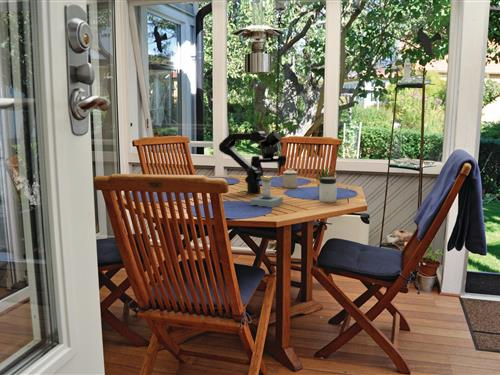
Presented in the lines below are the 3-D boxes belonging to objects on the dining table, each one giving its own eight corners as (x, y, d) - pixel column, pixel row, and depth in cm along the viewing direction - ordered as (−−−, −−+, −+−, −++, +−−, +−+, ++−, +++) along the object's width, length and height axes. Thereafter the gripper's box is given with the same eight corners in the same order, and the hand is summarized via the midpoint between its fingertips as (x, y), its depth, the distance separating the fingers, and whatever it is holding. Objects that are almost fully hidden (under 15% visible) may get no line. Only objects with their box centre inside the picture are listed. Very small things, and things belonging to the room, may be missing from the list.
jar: (317, 201, 244) (317, 178, 242) (320, 198, 252) (321, 176, 250) (334, 202, 241) (335, 179, 239) (337, 200, 249) (338, 177, 247)
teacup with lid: (296, 185, 296) (296, 167, 294) (298, 188, 287) (298, 168, 285) (277, 186, 295) (277, 167, 293) (278, 188, 286) (278, 169, 284)
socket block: (250, 205, 237) (250, 199, 236) (261, 201, 247) (261, 195, 247) (272, 207, 231) (272, 201, 231) (282, 203, 241) (282, 197, 241)
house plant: (326, 199, 250) (327, 168, 248) (305, 196, 260) (305, 166, 257) (341, 195, 261) (341, 165, 258) (320, 192, 270) (320, 164, 267)
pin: (258, 203, 240) (258, 176, 238) (267, 202, 243) (267, 175, 241) (265, 205, 236) (265, 177, 233) (274, 204, 239) (274, 176, 236)
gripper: (251, 141, 253) (255, 164, 244) (285, 140, 256) (291, 163, 248) (249, 154, 262) (253, 177, 253) (282, 153, 265) (287, 176, 256)
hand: (271, 173), depth 252 cm, fingers open, 9 cm apart
